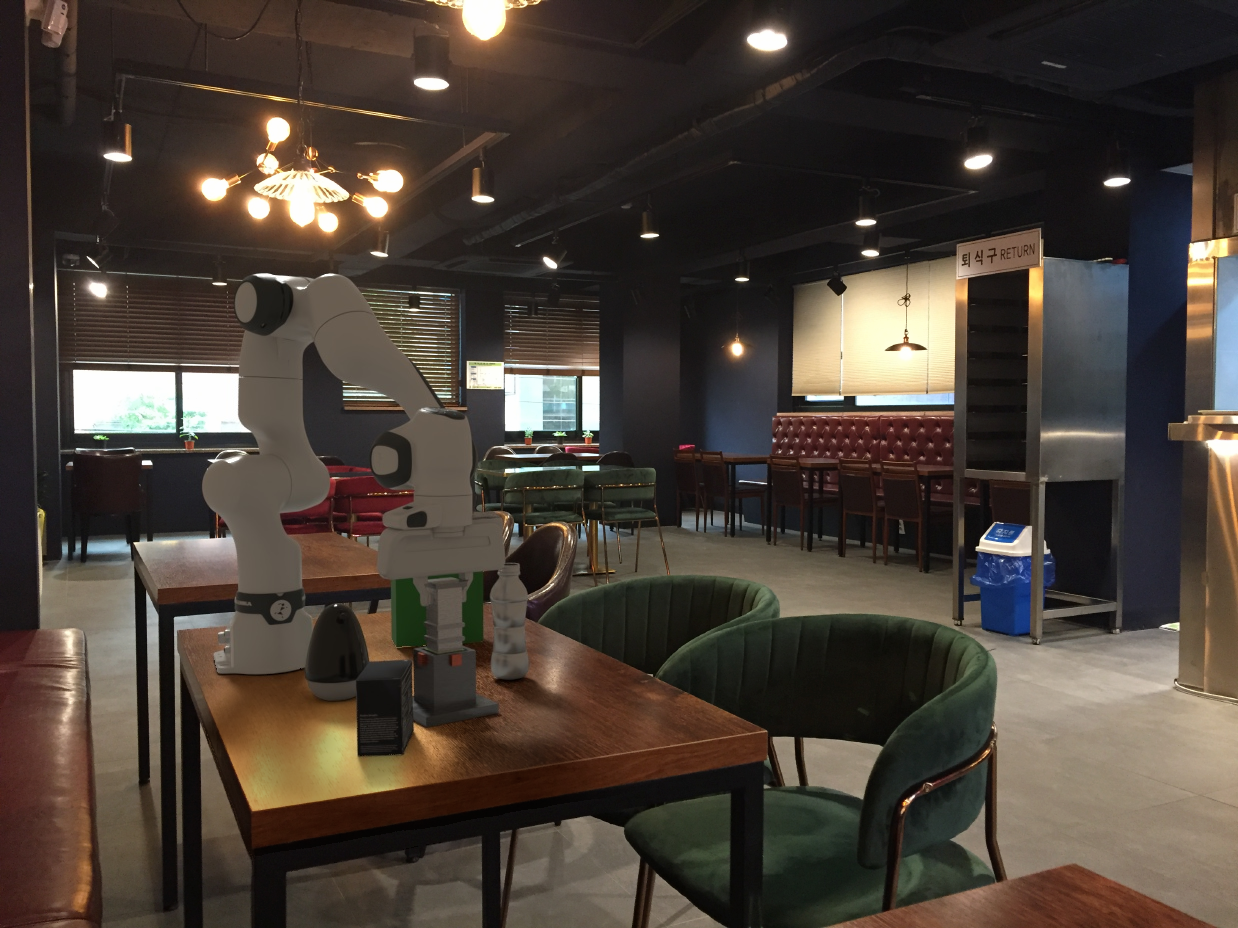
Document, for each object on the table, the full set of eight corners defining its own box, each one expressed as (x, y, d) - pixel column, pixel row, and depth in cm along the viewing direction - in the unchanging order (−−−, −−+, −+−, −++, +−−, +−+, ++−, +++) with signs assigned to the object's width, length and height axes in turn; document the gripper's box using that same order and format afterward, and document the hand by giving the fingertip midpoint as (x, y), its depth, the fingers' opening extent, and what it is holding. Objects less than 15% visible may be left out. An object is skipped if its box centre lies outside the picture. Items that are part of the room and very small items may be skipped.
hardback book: (475, 634, 205) (475, 522, 204) (483, 641, 198) (482, 525, 197) (391, 641, 199) (390, 525, 198) (396, 648, 192) (395, 528, 191)
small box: (368, 732, 137) (367, 659, 137) (414, 731, 137) (414, 658, 137) (354, 757, 126) (353, 677, 126) (404, 755, 127) (403, 676, 127)
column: (421, 676, 148) (420, 580, 147) (452, 671, 151) (451, 577, 151) (436, 682, 144) (435, 584, 143) (467, 677, 147) (467, 581, 146)
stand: (391, 708, 149) (391, 647, 148) (461, 696, 156) (461, 637, 156) (426, 727, 139) (425, 662, 139) (498, 712, 146) (498, 650, 146)
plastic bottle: (523, 684, 163) (522, 567, 163) (485, 682, 165) (484, 566, 164) (533, 675, 170) (533, 562, 169) (497, 673, 171) (496, 561, 170)
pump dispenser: (311, 708, 149) (310, 611, 148) (300, 693, 158) (298, 601, 158) (377, 700, 154) (376, 605, 153) (362, 685, 163) (361, 596, 162)
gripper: (492, 509, 155) (492, 594, 156) (372, 515, 143) (372, 607, 144) (512, 511, 150) (512, 599, 151) (389, 518, 138) (390, 613, 139)
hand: (443, 603), depth 147 cm, fingers closed on column, 4 cm apart
